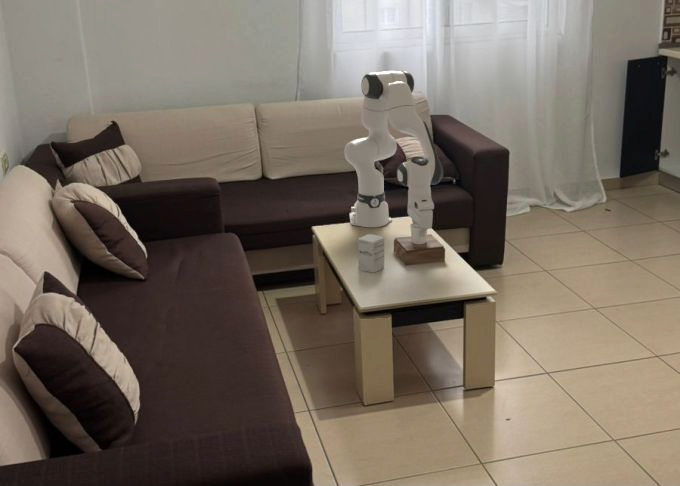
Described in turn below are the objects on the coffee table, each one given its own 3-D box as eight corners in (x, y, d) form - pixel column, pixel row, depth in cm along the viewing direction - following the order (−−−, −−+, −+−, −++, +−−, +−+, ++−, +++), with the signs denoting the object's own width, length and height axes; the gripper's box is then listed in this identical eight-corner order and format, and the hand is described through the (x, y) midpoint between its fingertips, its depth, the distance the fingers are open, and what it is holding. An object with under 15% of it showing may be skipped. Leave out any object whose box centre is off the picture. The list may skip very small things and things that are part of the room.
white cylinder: (426, 245, 336) (426, 228, 334) (409, 244, 338) (409, 227, 335) (428, 239, 343) (428, 222, 340) (411, 238, 344) (411, 221, 342)
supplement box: (357, 269, 330) (357, 238, 326) (369, 263, 336) (369, 233, 331) (373, 273, 326) (372, 242, 321) (384, 267, 331) (384, 236, 327)
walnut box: (393, 251, 348) (393, 237, 346) (431, 247, 351) (431, 233, 349) (405, 265, 333) (405, 250, 331) (444, 261, 336) (445, 246, 334)
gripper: (403, 192, 343) (403, 225, 348) (419, 207, 324) (419, 242, 329) (418, 191, 344) (418, 224, 349) (435, 206, 326) (435, 240, 330)
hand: (419, 232), depth 339 cm, fingers open, 7 cm apart
